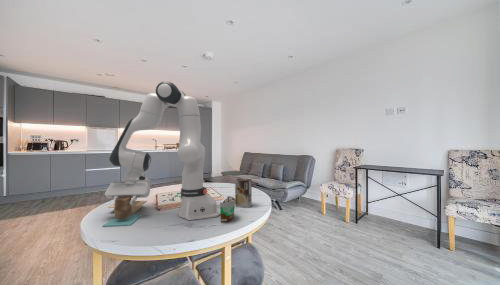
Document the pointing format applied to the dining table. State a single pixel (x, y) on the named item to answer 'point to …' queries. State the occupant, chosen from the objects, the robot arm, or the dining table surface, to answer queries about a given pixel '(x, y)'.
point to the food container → (227, 209)
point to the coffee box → (243, 192)
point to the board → (122, 221)
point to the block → (122, 208)
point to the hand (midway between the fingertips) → (122, 205)
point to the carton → (133, 206)
